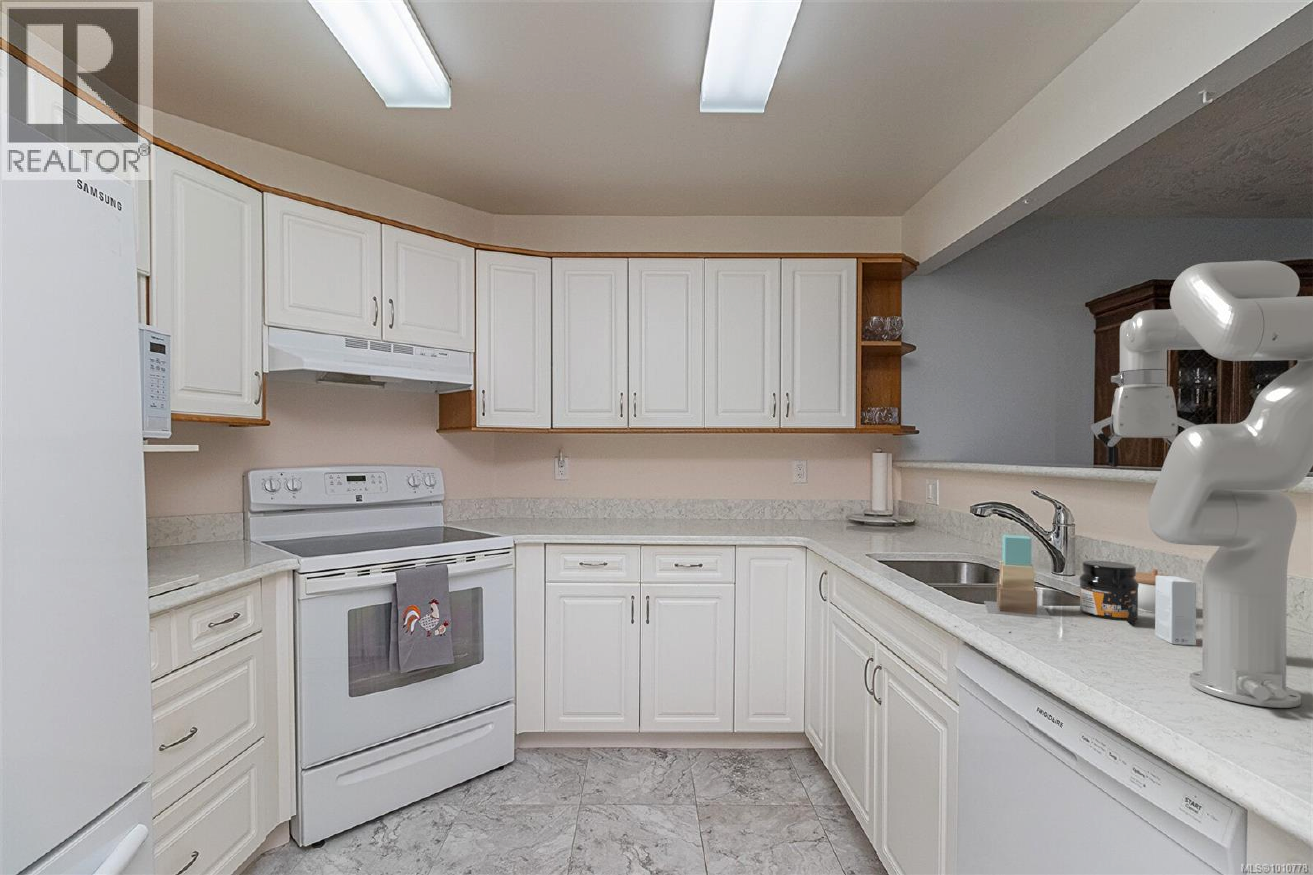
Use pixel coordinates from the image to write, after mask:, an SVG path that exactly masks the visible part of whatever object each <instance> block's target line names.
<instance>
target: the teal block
mask: <svg viewBox="0 0 1313 875" xmlns="http://www.w3.org/2000/svg"><path fill="white" fill-rule="evenodd" d="M1001 537H1002V538H1001V541H1002V544H1001V547H1002V551H1001V552H1002V554H1001V558H1002V559H1001V561H1002V562H1003V563H1004V564H1005V565H1012V566H1027V567H1031V564H1032V538H1031V537H1029V536H1028V535H1019V534H1018V535H1016V534H1015V535H1014V534H1002V535H1001Z"/></svg>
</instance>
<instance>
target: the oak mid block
mask: <svg viewBox="0 0 1313 875" xmlns="http://www.w3.org/2000/svg"><path fill="white" fill-rule="evenodd" d="M999 582H1000V584H1001V586H1002V588H1007V589H1019V590H1031V591H1034V588H1035V566H1034V565H1033V564H1032V563H1031V567H1027V566H1012V565H1005V564H1004V563H1003V562H1002V560H999Z"/></svg>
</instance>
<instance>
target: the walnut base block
mask: <svg viewBox="0 0 1313 875" xmlns="http://www.w3.org/2000/svg"><path fill="white" fill-rule="evenodd" d="M996 602H997V606H998V608H999V610H1000V611H1001V612H1012V613H1022V614H1033V615H1037V606H1038V591H1037V589H1036V588H1035V587H1034V591H1031V590H1019V589H1007V588H1002V586H1001V584H1000V581H999V582H998V581H997V582H996Z"/></svg>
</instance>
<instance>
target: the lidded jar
mask: <svg viewBox="0 0 1313 875" xmlns="http://www.w3.org/2000/svg"><path fill="white" fill-rule="evenodd" d="M1157 575H1158V576H1171V575H1169V574H1162V573H1158V569H1153V568H1152V569H1151V572H1141V571H1140V572H1139V571H1138V572H1137V571H1136V576H1135V577H1134V578H1135V579H1136V581H1137V582H1138V583H1139V587H1138V611H1142V612H1146V613H1150V614H1155V592H1156V576H1157Z"/></svg>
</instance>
